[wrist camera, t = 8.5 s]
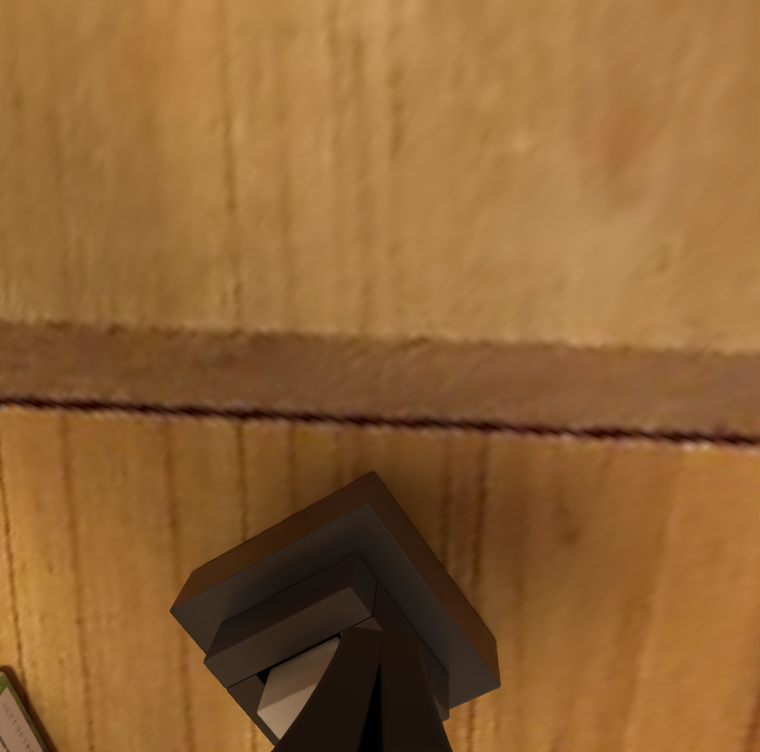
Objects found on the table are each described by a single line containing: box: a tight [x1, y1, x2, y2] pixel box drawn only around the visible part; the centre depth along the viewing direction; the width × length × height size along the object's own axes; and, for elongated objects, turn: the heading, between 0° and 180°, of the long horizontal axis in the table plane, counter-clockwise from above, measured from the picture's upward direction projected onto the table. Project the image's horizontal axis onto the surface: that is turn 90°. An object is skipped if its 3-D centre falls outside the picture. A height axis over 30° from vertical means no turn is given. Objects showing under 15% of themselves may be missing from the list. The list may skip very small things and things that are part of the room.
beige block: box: [257, 637, 340, 740], centre depth 20 cm, size 3×3×2 cm
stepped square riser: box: [170, 471, 501, 746], centre depth 23 cm, size 8×8×4 cm
